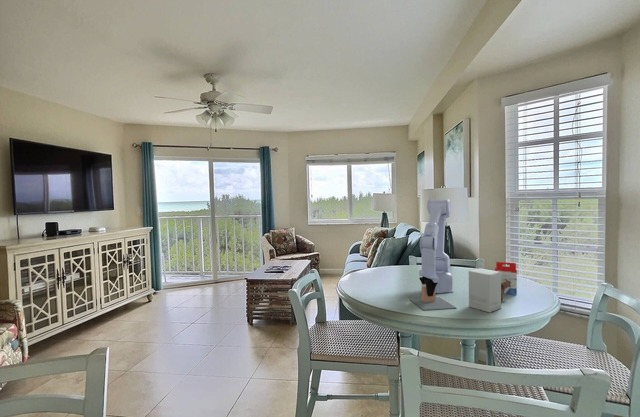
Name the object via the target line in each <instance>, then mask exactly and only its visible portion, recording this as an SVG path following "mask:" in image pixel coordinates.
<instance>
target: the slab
mask: <svg viewBox="0 0 640 417" xmlns="http://www.w3.org/2000/svg"><path fill="white" fill-rule="evenodd" d="M435 297H436V293H435V290H434V294H433V296H428V295H427V288H426V284H422V283H421V298H422V301H423V302H434V301H435Z"/></svg>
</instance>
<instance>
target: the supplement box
mask: <svg viewBox="0 0 640 417" xmlns="http://www.w3.org/2000/svg"><path fill="white" fill-rule="evenodd" d="M468 307H470V308H473V309H476V310H479V311H483V312H487V313H492V312H494V311H497V310H500V309H502V301H501V272H498V271H495V270H491V269H486V268H480V267H479V268H476V269H472V270H468Z"/></svg>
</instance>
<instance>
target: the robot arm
mask: <svg viewBox="0 0 640 417" xmlns="http://www.w3.org/2000/svg"><path fill="white" fill-rule="evenodd" d="M426 204H427V205H426V209H427V212H428V214H429V221H428V223H426V224H425V227H424V230H423V235H422V236H421V237H420V238H419V249H420V254H421V269H419V270H418V271H419V272H418V276H420V277H419V278H418V279H419V281H420V283H421V285H422V284H426V288H427V295H428V296H433V294H434V290H435V294H439V293H440V294H441V293H442V294H443V293H444V294H445V293H454V290H453V276H452V273H451V272H450V271H451V261H450V260H451V258H450V256H449V255H448V254H447V253H445V239H446V237H445V235H446V234H445V233H446V221H447V219H448V218H450V217H451V216H450V215H451V207H452V206H451V200H450V199H449V198H446V199H428V201H427V203H426Z"/></svg>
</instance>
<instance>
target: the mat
mask: <svg viewBox="0 0 640 417" xmlns="http://www.w3.org/2000/svg"><path fill="white" fill-rule="evenodd" d="M409 300H410V301H411V302H412V303H413V304H415V306H417V307H418V308H419V309H420V310H422V311H438V310H439V311H440V310H441V311H442V310H455V309H457V307H456V306H455V305H453V304H452V303H449V302H448V301H447V300H445V299H443V298H442V297H440V296H435V301H434V302H423V301H422V297H418V298H409Z"/></svg>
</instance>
